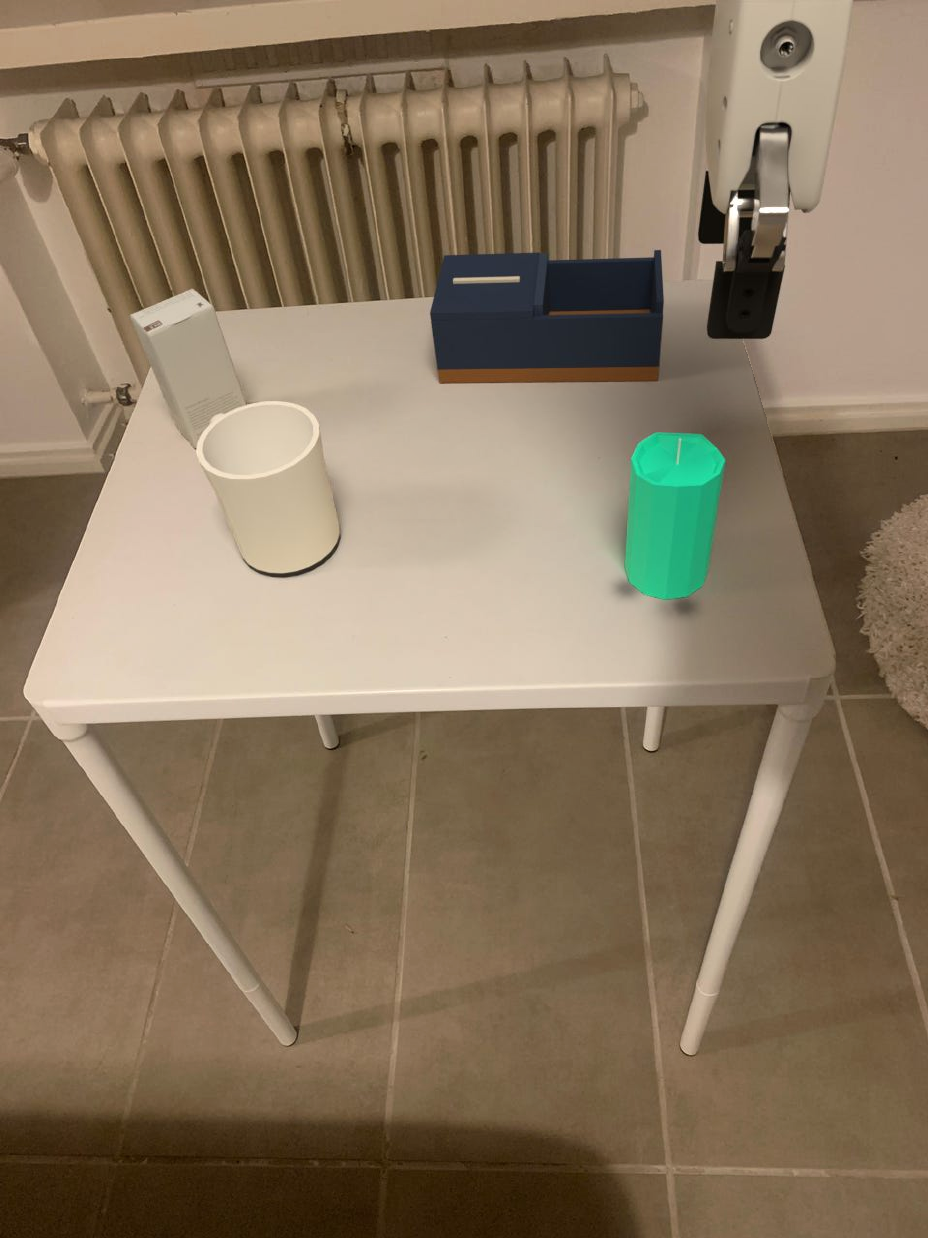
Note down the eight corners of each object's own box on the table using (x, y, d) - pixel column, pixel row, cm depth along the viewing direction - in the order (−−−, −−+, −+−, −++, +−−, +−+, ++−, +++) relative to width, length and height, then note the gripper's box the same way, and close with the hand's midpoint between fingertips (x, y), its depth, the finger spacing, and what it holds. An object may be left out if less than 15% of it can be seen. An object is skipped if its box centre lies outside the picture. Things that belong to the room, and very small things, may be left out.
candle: (708, 602, 66) (729, 471, 57) (622, 597, 67) (630, 468, 58) (707, 542, 70) (727, 411, 61) (626, 539, 71) (634, 409, 62)
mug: (369, 537, 73) (344, 432, 66) (280, 600, 70) (243, 497, 62) (286, 479, 79) (255, 376, 71) (200, 534, 75) (157, 433, 68)
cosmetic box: (233, 402, 87) (193, 283, 78) (255, 424, 85) (216, 303, 75) (173, 430, 85) (126, 311, 76) (194, 453, 82) (147, 333, 73)
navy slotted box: (655, 320, 90) (660, 245, 84) (658, 381, 83) (664, 304, 78) (451, 324, 93) (443, 251, 87) (439, 383, 86) (429, 309, 80)
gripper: (932, -38, 32) (822, 379, 45) (855, -152, 43) (784, 209, 56) (710, -28, 33) (665, 378, 46) (690, -142, 44) (658, 211, 57)
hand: (731, 285), depth 51 cm, fingers open, 9 cm apart
